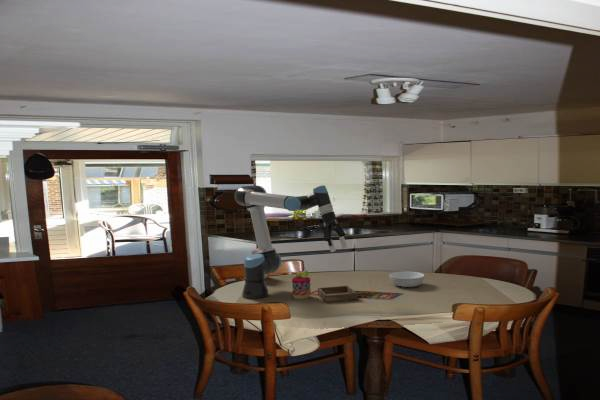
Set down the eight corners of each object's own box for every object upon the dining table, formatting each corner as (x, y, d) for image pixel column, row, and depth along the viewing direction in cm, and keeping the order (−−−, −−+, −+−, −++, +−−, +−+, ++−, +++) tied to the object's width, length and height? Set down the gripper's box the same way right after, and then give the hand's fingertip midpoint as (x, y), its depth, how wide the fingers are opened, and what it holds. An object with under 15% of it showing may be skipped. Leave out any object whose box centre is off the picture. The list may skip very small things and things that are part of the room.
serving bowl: (409, 280, 297) (409, 269, 297) (432, 287, 278) (431, 275, 278) (382, 284, 288) (382, 273, 288) (404, 291, 269) (403, 280, 269)
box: (317, 294, 268) (317, 288, 268) (347, 292, 272) (347, 285, 271) (325, 303, 250) (325, 295, 250) (357, 300, 254) (357, 293, 254)
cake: (298, 300, 257) (297, 273, 256) (289, 296, 266) (288, 270, 265) (314, 297, 262) (313, 271, 261) (304, 293, 271) (304, 268, 270)
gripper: (321, 212, 244) (334, 251, 242) (343, 209, 265) (355, 244, 263) (310, 217, 248) (322, 255, 246) (332, 213, 269) (343, 248, 267)
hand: (339, 249), depth 254 cm, fingers open, 13 cm apart
